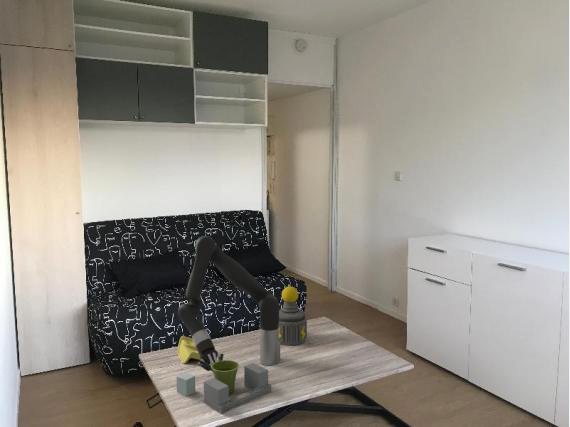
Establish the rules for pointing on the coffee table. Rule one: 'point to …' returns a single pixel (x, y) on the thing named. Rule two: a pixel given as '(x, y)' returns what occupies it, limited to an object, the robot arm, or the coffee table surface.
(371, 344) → the coffee table surface
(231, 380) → the plant pot
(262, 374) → the block
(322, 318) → the coffee table surface
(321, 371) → the coffee table surface
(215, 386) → the block
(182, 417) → the coffee table surface
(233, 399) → the rail strip
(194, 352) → the plastic component
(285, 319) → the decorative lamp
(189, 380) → the block
